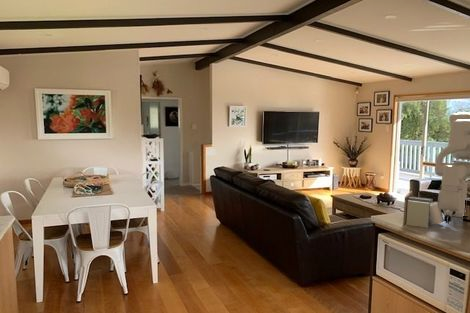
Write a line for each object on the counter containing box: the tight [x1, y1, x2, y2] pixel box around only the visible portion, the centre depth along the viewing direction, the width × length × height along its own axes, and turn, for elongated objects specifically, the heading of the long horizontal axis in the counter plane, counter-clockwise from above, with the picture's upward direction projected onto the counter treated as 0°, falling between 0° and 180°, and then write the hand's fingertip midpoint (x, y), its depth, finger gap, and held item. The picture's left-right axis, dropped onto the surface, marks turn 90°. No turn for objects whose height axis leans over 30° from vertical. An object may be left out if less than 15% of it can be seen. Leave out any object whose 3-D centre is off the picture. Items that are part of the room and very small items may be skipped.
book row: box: [405, 196, 430, 229], centre depth 183 cm, size 6×10×14 cm, turn 55°
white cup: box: [429, 201, 445, 225], centre depth 185 cm, size 8×8×10 cm
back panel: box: [402, 190, 413, 225], centre depth 192 cm, size 19×1×15 cm, turn 145°
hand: (447, 222), depth 182 cm, fingers closed
